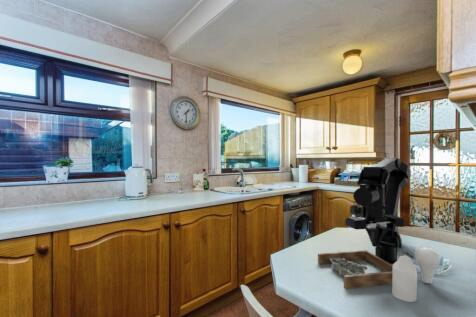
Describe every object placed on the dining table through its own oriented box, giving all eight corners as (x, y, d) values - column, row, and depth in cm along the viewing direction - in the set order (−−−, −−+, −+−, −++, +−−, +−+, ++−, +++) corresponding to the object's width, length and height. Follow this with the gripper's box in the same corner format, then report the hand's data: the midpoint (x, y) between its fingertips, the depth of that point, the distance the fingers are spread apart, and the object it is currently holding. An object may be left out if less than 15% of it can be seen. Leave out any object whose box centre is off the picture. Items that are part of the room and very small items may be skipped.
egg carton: (369, 280, 74) (369, 267, 74) (349, 283, 72) (350, 270, 72) (345, 264, 85) (345, 253, 85) (327, 267, 83) (327, 256, 83)
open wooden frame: (366, 259, 89) (366, 250, 89) (404, 283, 72) (404, 271, 72) (317, 262, 86) (317, 253, 86) (345, 288, 69) (345, 277, 69)
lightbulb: (441, 290, 68) (441, 253, 68) (415, 284, 71) (415, 249, 71) (437, 281, 73) (437, 246, 73) (413, 275, 76) (413, 242, 76)
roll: (407, 250, 68) (423, 258, 62) (406, 290, 68) (423, 302, 63) (387, 250, 68) (402, 259, 62) (387, 291, 68) (401, 303, 62)
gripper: (380, 196, 89) (380, 236, 89) (336, 198, 86) (336, 239, 86) (405, 202, 78) (405, 248, 78) (355, 204, 75) (355, 251, 75)
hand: (374, 246), depth 80 cm, fingers closed
